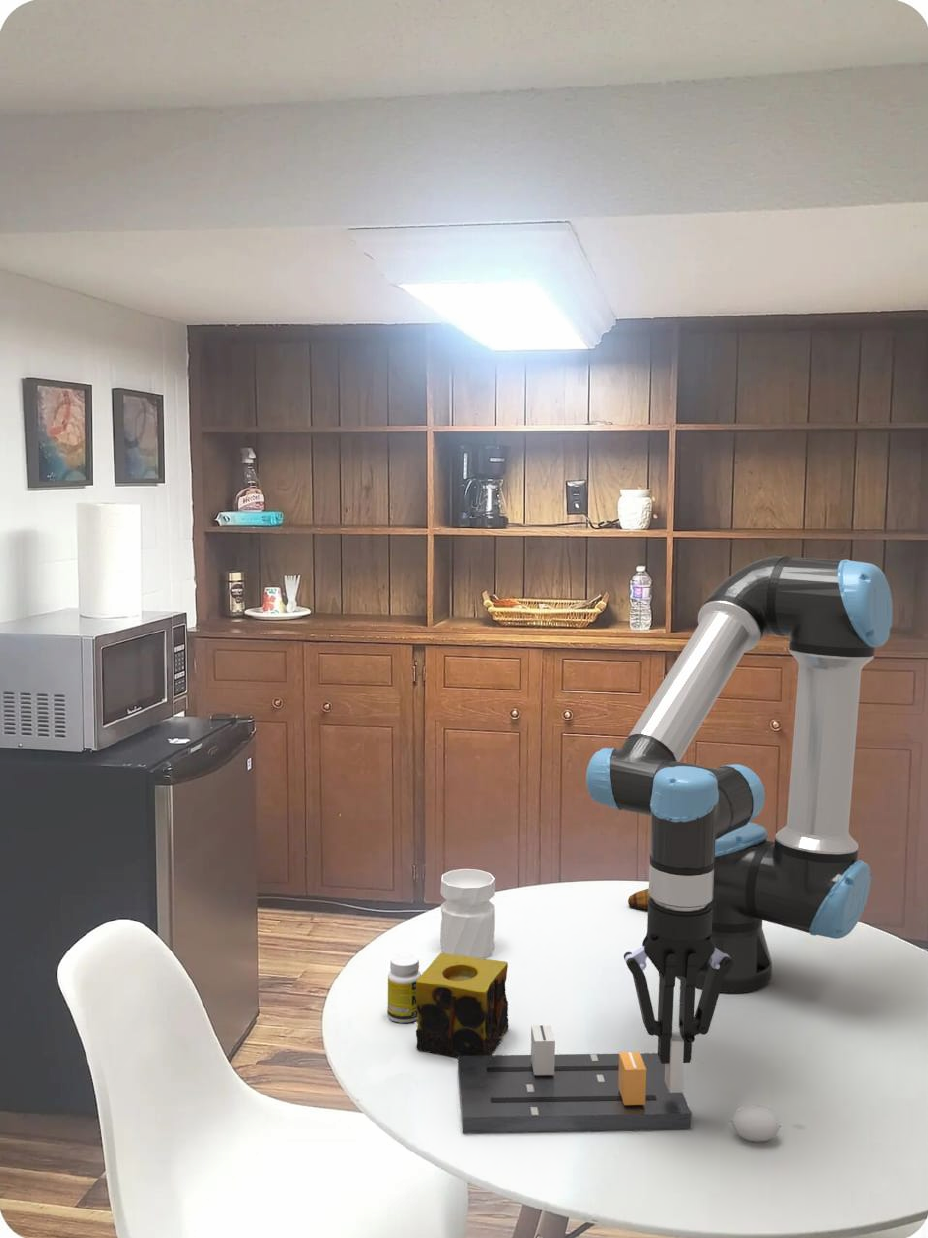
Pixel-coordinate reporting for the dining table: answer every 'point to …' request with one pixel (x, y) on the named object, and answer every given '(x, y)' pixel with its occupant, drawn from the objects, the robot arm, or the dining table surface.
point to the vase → (467, 913)
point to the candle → (461, 1006)
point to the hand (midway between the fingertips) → (673, 1086)
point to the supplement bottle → (403, 988)
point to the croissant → (639, 899)
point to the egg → (755, 1123)
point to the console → (563, 1096)
